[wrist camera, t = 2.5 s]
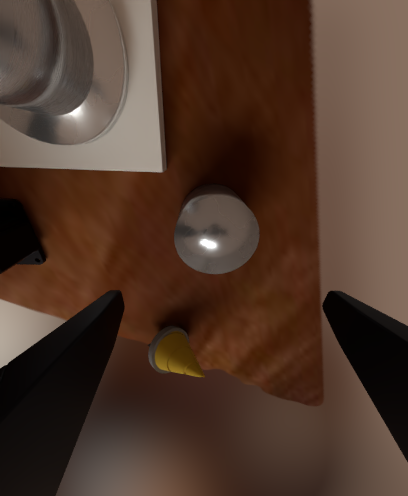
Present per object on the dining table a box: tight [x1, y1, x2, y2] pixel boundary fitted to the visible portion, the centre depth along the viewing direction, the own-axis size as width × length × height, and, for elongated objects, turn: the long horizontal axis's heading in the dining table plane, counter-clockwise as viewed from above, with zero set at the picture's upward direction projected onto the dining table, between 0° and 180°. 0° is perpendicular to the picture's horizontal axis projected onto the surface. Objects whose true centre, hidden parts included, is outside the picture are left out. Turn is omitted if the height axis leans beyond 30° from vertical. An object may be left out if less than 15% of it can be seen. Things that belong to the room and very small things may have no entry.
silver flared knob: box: [174, 184, 259, 274], centre depth 15 cm, size 6×6×5 cm
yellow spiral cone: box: [148, 326, 205, 377], centre depth 22 cm, size 5×5×10 cm
